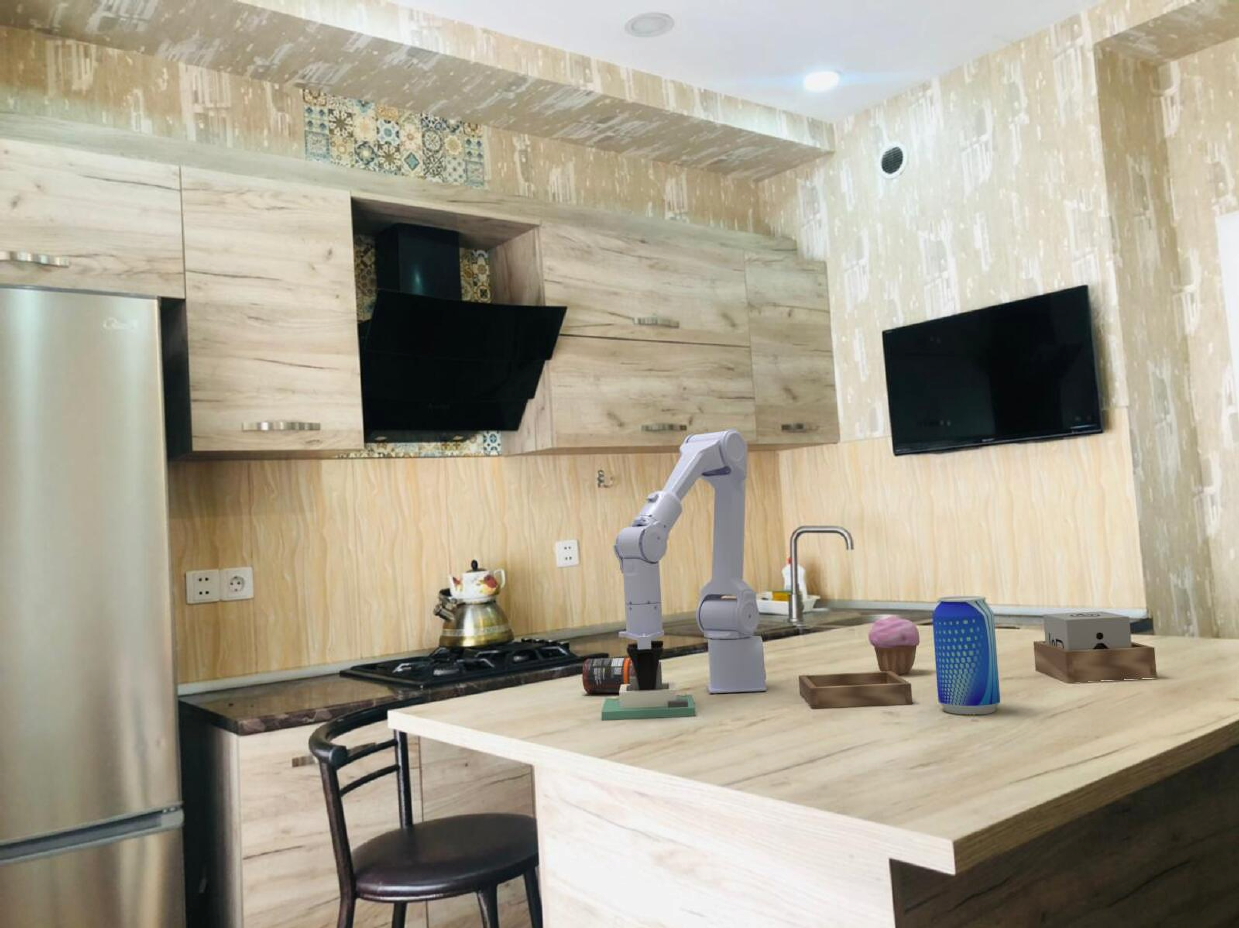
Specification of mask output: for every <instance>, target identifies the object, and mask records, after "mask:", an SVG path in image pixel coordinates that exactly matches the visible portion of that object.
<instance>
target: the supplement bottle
mask: <svg viewBox="0 0 1239 928" xmlns="http://www.w3.org/2000/svg"><path fill="white" fill-rule="evenodd" d="M581 673H582V674H581V675H582V676H581V679H582V685H583V689H584V691H585V692H586V693H587V694H619V691H620V687H621V685H624V684H630V677H636V673H635V668H634V665H633V663H632V660H631V658H630V657H621V658H620V657H618V658H617V657H616V658H615V657H614V658H610V657H609V658H587V659H586V660H584V663H583V665H582V672H581Z"/></svg>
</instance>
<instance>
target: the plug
mask: <svg viewBox="0 0 1239 928" xmlns="http://www.w3.org/2000/svg"><path fill="white" fill-rule="evenodd" d="M635 673H636V672H635ZM662 673H663V670H662V661H659V663H658V668H657V676H656V686H655V690H663V688H662V683H663V674H662ZM630 691H640V690H639V686H638V681H637V677H630Z"/></svg>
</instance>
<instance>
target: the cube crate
mask: <svg viewBox="0 0 1239 928" xmlns="http://www.w3.org/2000/svg"><path fill="white" fill-rule="evenodd" d="M1131 644H1132V648H1115V649H1094V650H1073V651H1069V650H1066V649H1062V648H1059V647H1056V646H1053V645H1050V644H1047V643H1045V640H1039V641H1038V640H1037V641H1036V640H1035V641H1033V655H1034V663H1035V664H1034V665H1035V668H1034V669H1035V672H1038V673H1041V674H1043V673H1044V674H1043V675H1046V676H1049V677H1051V678H1053V677H1054V678H1053V679H1056V680H1059V681H1061V680H1062V681H1061V682H1063V683H1067V684H1076V683H1075V682H1084V683H1089V682H1088V681H1101V680H1124V679H1142V678H1157V679H1158V675H1157V674H1158V673H1157V664H1156V663H1157V662H1156V650H1155V647H1153V646H1149V645H1147V644H1146V645H1145V644H1143V643H1139V642H1134V641H1131Z"/></svg>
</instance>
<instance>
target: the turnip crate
mask: <svg viewBox="0 0 1239 928" xmlns="http://www.w3.org/2000/svg"><path fill="white" fill-rule="evenodd" d="M798 685H799V687H798V688H799V689H798V690H799V695H800V696H801V697H802V699H803V698H804V699H803V700H804V701H805V702H806V703H808V704H809V705H808V704H807V705H808V706H809V707H810V708H811V709H812V708H816V709H834V708H836V707H837V708H852V707H853V708H854V707H856V708H857V707H879V706H896V705H897V706H899V705H913V694H912V692H913V691H912V683H910V682H909V681H907V680H906V679H904V678H903V677H901V675H897V674H895V673H893V672H892V671H883V672H881V671H865V672H864V671H863V672H862V671H861V672H845V673H843V672H842V673H825V674H823V673H822V674H801V675H800V674H799V675H798ZM837 708H836V709H837Z"/></svg>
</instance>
